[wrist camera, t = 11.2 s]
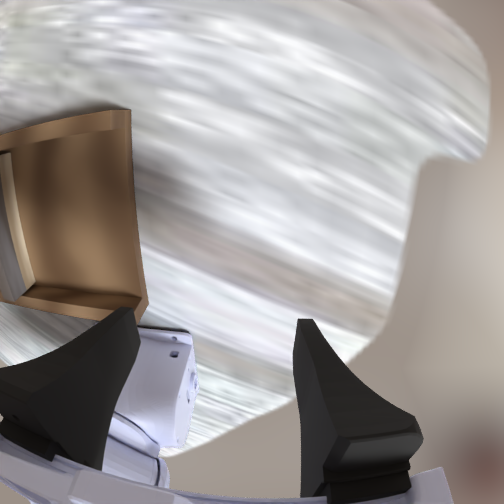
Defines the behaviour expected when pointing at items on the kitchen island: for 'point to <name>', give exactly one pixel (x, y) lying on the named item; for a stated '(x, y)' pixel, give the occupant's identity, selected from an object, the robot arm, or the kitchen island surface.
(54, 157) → the walnut track
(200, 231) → the kitchen island surface
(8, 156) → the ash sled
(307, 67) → the kitchen island surface
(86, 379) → the robot arm
